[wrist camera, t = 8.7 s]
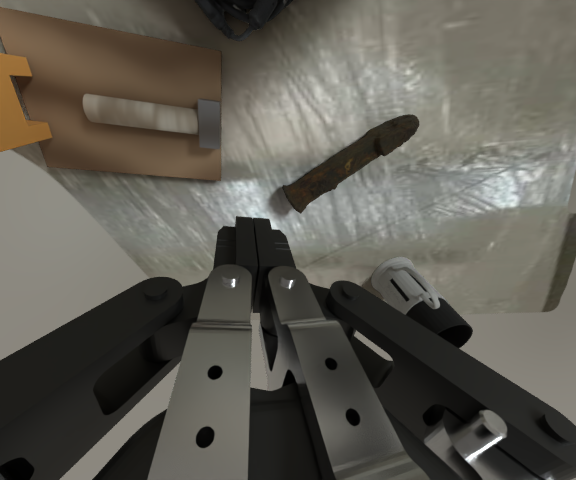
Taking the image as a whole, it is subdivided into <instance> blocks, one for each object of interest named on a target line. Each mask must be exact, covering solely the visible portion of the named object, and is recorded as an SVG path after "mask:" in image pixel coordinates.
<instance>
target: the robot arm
mask: <svg viewBox="0 0 576 480" xmlns="http://www.w3.org/2000/svg"><path fill="white" fill-rule="evenodd" d="M252 308H253V313H260V325H259V334H260V340H261V346H262V351H263V357H264V363H265V368H266V374H267V384H268V387H267V391H266V390H260V389H255V388H250V378H251V343H252V325H250V317H251V310H252ZM356 330H357V331H358V332H360V333H361V334H362V335H364V336H365V337H366V338H368V339H369V340H370V341H372V342H373V343H374V344H376V345H377V346H378V347H380V348H381V349H383V350H384V351H385V352H387V353H388V354H389V355H390V356H391V357H392V359H393V361H388V360H385V359H384V358H382V357H381V356H379V355H378V354H377V353H376V352H374V351H373V350H372V349H370V348H369V347H368V346H366V345H365V344H363V343H362V342H361V341H360V340H358V339H357V338H356V337H354V334H355V332H356ZM180 361H181V362H180ZM179 362H180V366H179V369H178V373H177V377H176V380H175V383H174V387H173V391H172V394H171V398H170V401H169V405H168V408H167V409H166V410H165V411H163V412H161V413H160V414H158V415H157V416H155V417H154V418H152V419H151V420H150V421H148V422H147V423H146V424H145V425H143V426H142V427H141V428H140V429H139V430H138V431H137V432H136V433H135V434H133V435H132V436H131V437H130V438H129V440H128V441H127V442H126V443H125V444H124V445H123V446H122V447H121V448H120V449H119V450H118V452H117V453H116V454H115V455H114V456H113V457H112V458H111V459H110V460H109V462H108V463H107V464H106V465H105V466H104V467H103V469H101V471H100V472H99V473H98V474H97V475H96V476H95V477H94V478H93V479H92V480H571V479H573V478H576V426H575V425H574V424H573V423H572V422H571V421H570V420H568V419H567V418H566V417H565V416H564V415H562V414H561V413H560V412H558V411H557V410H556V409H554V408H553V407H551V406H549V405H548V404H546V403H544V402H543V401H541V400H540V399H538V398H537V397H535V396H533V395H532V394H530V393H529V392H527V391H526V390H524V389H522V388H521V387H519V386H518V385H516V384H514V383H513V382H511V381H510V380H508V379H507V378H505V377H503V376H502V375H500V374H499V373H497V372H495V371H494V370H492V369H491V368H489V367H487V366H486V365H484V364H483V363H481V362H479V361H478V360H476V359H475V358H473V357H471V356H470V355H468V354H467V353H465V352H463V351H462V350H460V349H459V348H457V347H456V346H454V345H452V344H451V343H449V342H448V341H446V340H444V339H443V338H441V337H440V336H438V335H437V334H435V333H433V332H432V331H430V330H429V329H427V328H425V327H424V326H422V325H421V324H419V323H417V322H416V321H414V320H413V319H411V318H410V317H408V316H406V315H405V314H403V313H402V312H400V311H398V310H397V309H395V308H394V307H392V306H390V305H389V304H387V303H386V302H384V301H382V300H381V299H379V298H378V297H376V296H375V295H373V294H371V293H370V292H368V291H367V290H365V289H363V288H362V287H360V286H359V285H357V284H355V283H352V282H349V281H336V282H334V283H333V284H332V285H331V287H330V289H327V288H323V287H319V286H316V285H313V284H310V283H309V282H308V280H307V278H306V276H305V275H304V274H303V273H302V272H301V271H299V270H298V269H296V266H295V263H294V260H293V257H292V254H291V250H290V247H289V244H288V241H287V238H286V236H285V235H284V234H283V233H282V232H281V231H280V230H273V229H272V228H271V224H270V220H269V219H265V218H253V219H252V218H251V217H238V216H236V224H235V227H228V226H223V227H222V228H221V229H220V230H219V231H218V235H217V243H216V251H215V259H214V267H213V270H212V271H211V273H210V274H209V277H208V278H207V279H205V280H204V281H202V282H199V283H197V284H193V285H188V286H184V287H182V285H181V284H180V283H179V282H178V281H177V280H175V279H172V278H169V277H154V278H150V279H147V280H144V281H142V282H140V283H138V284H136V285H135V286H133V287H131V288H129V289H127V290H126V291H124V292H122V293H120V294H118V295H116V296H115V297H113V298H111V299H109V300H108V301H106V302H104V303H102V304H101V305H99V306H97V307H95V308H93V309H91V310H90V311H88V312H86V313H84V314H83V315H81V316H79V317H77V318H75V319H74V320H72V321H70V322H68V323H67V324H65V325H63V326H61V327H59V328H57V329H56V330H54V331H52V332H50V333H49V334H47V335H45V336H43V337H41V338H40V339H38V340H36V341H34V342H33V343H31V344H29V345H27V346H25V347H24V348H22V349H20V350H18V351H16V352H15V353H13V354H11V355H9V356H8V357H6V358H4V359H2V360H0V480H59V479H60V478H61V477H62V476H63V475H64V474H65V473H66V472H67V471H68V470H70V469H71V467H73V466H74V465H75V464H76V463H77V462H78V461H79V460H80V459H81V458H82V457H83V456H84V455H85V454H86V453H87V452H88V451H89V450H90V449H91V448H92V447H93V446H94V445H95V444H96V443H97V442H98V441H99V440H100V439H101V438H102V437H103V436H104V435H106V434H107V432H109V431H110V430H111V429H112V428H113V426H115V425H116V424H117V423H118V422H119V421H120V420H121V419H122V418H123V417H124V416H125V415H126V414H127V413H128V412H129V411H130V410H131V409H132V408H133V407H134V406H135V405H136V404H137V403H138V402H139V401H140V400H141V399H142V398H143V397H145V396H146V395H147V394H148V393H149V392H150V391H151V390H152V389H153V388H154V387H155V386H156V385H157V384H158V383H159V382H160V381H161V380H162V379H163V378H164V377H165V376H166V375H167V374H168V373H169V372H170V371H171V370H172V369H173V368H174V367H175V366H176V365H177V364H178V363H179Z"/></svg>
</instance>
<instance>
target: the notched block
mask: <svg viewBox="0 0 576 480" xmlns="http://www.w3.org/2000/svg"><path fill="white" fill-rule="evenodd" d="M9 75H16V76H32V74H31V71H30V68H29V65H28V62H27V59H26V57H21V56H15V55H9V54H3V53H0V152H2V151H5V150H9V149H13V148H16V147H20V146H23V145H27V144H31V143H34V142H38V141H42V140H45V139H49V138H52V134H51V131H50V128H49V125H48V122H40V121H31V120H26V119H25V116H24V114H23V111H22V108H21V106H20V103H19V100H18V97H17V95H16V92H15V89H14V87H13V84H12V81H11V79H10V76H9Z"/></svg>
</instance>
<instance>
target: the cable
mask: <svg viewBox="0 0 576 480" xmlns="http://www.w3.org/2000/svg"><path fill="white" fill-rule="evenodd" d="M195 1H196V2H197V4H198V5H199V6H200V8H201V9H202V10H203V12H204V13H205V15H206V16H207V17H208V18H209V20H210V21H211V22H212V23H213V24H214V25H215V26H216V27H217V28H218V29H219V30H222V32H223V33H224V34H225V35H226V37H227V38H232V39H233V40H236V41H242V40H244V39H246V38H247V37H248V36H249V35H250V33H251V32H252V31H253V30H257V29H261V28H262V27H263V26H264V24H265V23H266V22H268V21H270V20H271V19H273V18H274V17H275V16H276V15H278V14H279V13H280V11H281V10H282V9H284V8H285V7H286V6H288V5H289V4H290V3H291V2H292V0H195ZM245 8H246V9H251V11H250V12H249V14H246V11H245ZM224 11H226V12H228V13H229V14H230V15H232V16H233V17H235V18H237V19H239V20H241V21H243V22H246V23H249V27H248V28H247V30H246V31H245V32H244V33H243V34H242V35H239V36H238V35H235V34H234V31H233V30H232V29H231V28H230V26H229V25H228V24H227V22H226V20H225V18H224Z"/></svg>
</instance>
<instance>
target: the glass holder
mask: <svg viewBox="0 0 576 480" xmlns="http://www.w3.org/2000/svg"><path fill="white" fill-rule="evenodd" d="M371 284H372V286H373V287H374V289H376V290H377V291H379V292H380V294H381V295H382V296H383V298H384V299H385V301H386V302H387V303H388V304H389V305H390V306H392V307H394V308H395V309H397V310H398V311H400V312H402V313H403V314H405V315H406V316H408V317H410V318H411V319H413V320H414V321H416V322H417V323H419V324H421V325H422V326H424V327H425V328H427V329H429V330H430V331H432V332H433V333H435V334H437V335H438V336H440V337H441V338H443V339H444V340H446V341H448V342H449V343H451V344H452V345H454V346H456V347H457V348H460V347H462V346H463V345H464V344H465V343H466V342H467V341H468V340H469V339H470V337H471V335H472V332H473V330H472V328H471V326H470V325H469V324H468V323H467V322H466V321H465V320H464V319H463V318H462V317H461V316H460V315H459V314H458V313H457V312H456V311H455V310H454V309H453V308H452V307H451V306H450V304H449V303H448V301H447V300H446V299H445V298H444V297H443V296H442V295H441V294H440V293H439V292H438V291H437V290H436V289H435V288H434V287H433V286H432V285H431V284H430V283H429V282H428V281H427V280H426V279H425V278H424V277H423V276H422V275H421V274H420V273H419V272H418V271H417V270H416V269H415V268H414V266H413V263H412V262H411V261H410V260H409V259H408V258H405V257H395V258H391V259H389V260H387V261H385V262H383V263H382V264H381V265H380V266H379V267H377V269H376V270H375V271H374V273H373V275H372V278H371Z"/></svg>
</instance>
